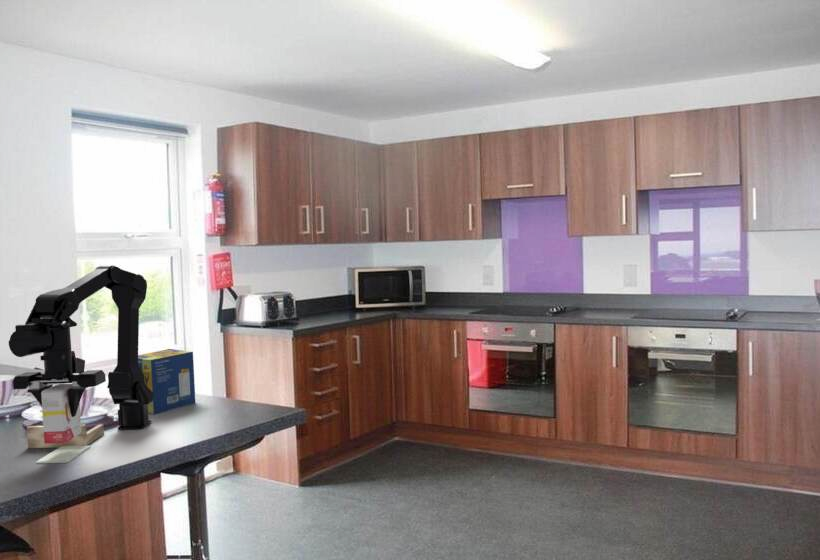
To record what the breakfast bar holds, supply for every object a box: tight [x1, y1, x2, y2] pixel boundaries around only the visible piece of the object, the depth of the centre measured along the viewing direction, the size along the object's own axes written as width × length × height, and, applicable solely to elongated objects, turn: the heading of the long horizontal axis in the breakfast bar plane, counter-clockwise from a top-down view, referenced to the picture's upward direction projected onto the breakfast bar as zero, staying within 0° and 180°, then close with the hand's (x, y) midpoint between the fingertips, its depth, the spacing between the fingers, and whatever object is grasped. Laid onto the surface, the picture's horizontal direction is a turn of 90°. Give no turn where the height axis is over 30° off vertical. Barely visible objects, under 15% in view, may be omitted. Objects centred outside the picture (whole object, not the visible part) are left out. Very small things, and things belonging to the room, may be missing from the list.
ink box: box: [41, 383, 82, 444], centre depth 160 cm, size 9×5×12 cm, turn 0°
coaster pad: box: [35, 445, 91, 464], centre depth 160 cm, size 7×11×1 cm, turn 0°
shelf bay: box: [26, 423, 105, 449], centre depth 172 cm, size 14×10×5 cm
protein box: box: [138, 348, 196, 415], centre depth 204 cm, size 10×15×16 cm
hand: (62, 416), depth 160 cm, fingers closed on ink box, 5 cm apart
